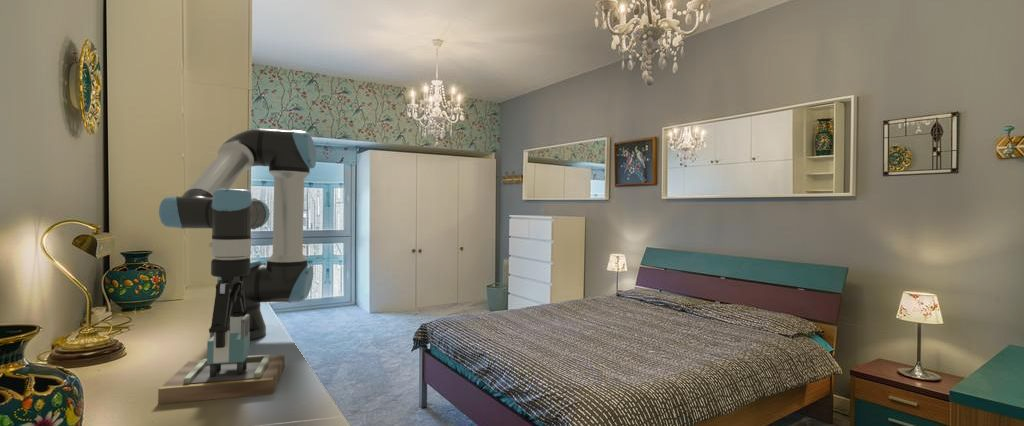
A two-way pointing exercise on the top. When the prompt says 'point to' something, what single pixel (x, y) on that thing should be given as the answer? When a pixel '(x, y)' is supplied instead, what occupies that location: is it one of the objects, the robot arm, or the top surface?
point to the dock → (223, 380)
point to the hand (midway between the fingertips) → (229, 352)
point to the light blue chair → (233, 349)
